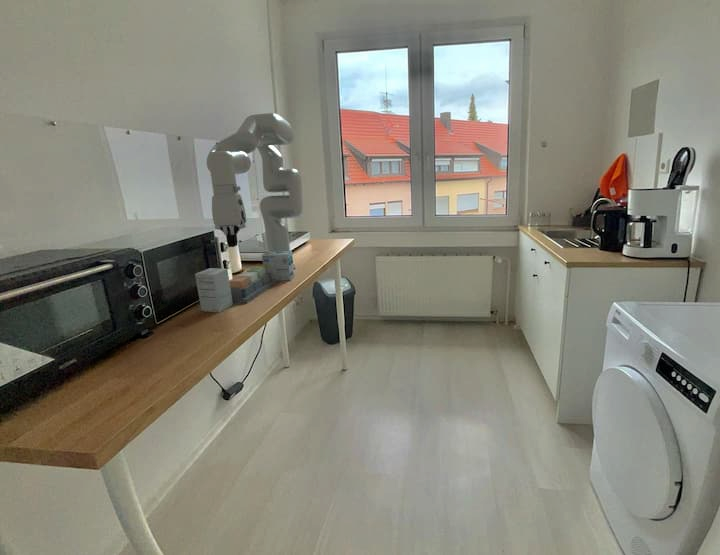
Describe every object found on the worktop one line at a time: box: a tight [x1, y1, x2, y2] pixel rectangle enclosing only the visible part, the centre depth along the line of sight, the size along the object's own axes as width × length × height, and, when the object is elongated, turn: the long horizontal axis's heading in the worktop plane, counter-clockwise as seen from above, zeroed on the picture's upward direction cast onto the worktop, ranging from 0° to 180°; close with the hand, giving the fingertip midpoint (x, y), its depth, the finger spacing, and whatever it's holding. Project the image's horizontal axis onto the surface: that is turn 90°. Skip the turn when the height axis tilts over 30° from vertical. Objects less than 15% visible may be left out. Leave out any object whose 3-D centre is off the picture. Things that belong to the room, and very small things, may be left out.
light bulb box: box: [261, 250, 296, 282], centre depth 169 cm, size 11×7×11 cm, turn 84°
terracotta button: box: [229, 276, 249, 289], centre depth 147 cm, size 5×5×4 cm
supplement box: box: [194, 267, 234, 313], centre depth 138 cm, size 7×7×13 cm
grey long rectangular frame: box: [230, 273, 277, 304], centre depth 154 cm, size 24×10×4 cm, turn 167°
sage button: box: [246, 267, 266, 278], centre depth 160 cm, size 5×5×4 cm
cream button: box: [237, 271, 258, 283], centre depth 153 cm, size 5×5×4 cm
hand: (232, 246), depth 143 cm, fingers closed
